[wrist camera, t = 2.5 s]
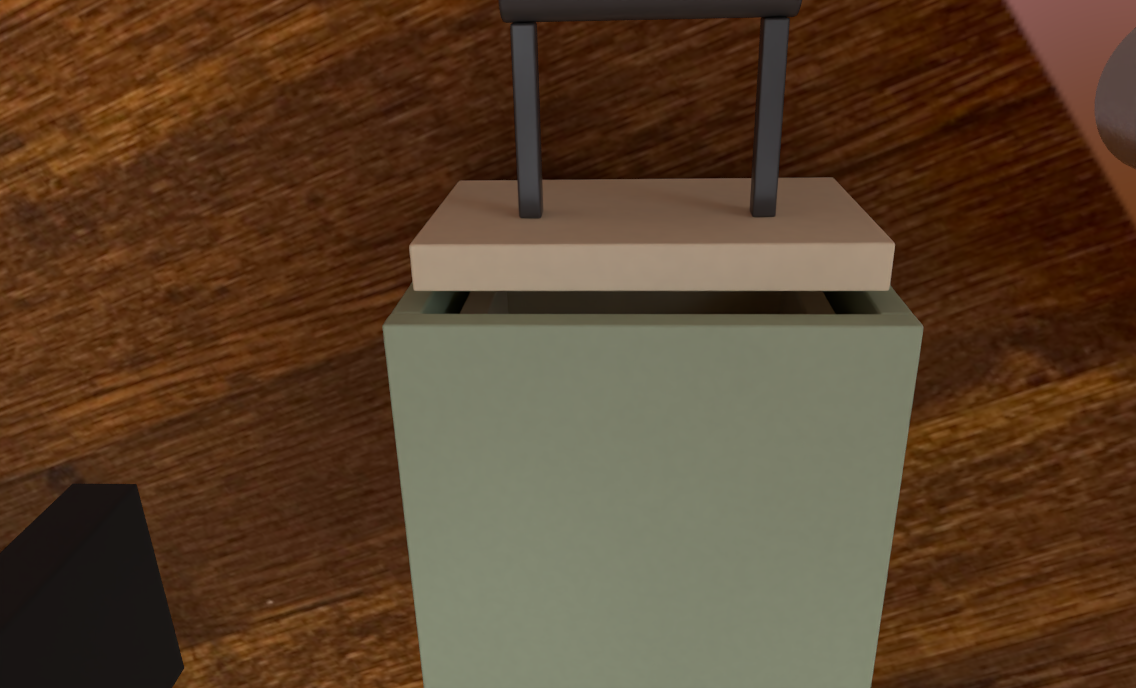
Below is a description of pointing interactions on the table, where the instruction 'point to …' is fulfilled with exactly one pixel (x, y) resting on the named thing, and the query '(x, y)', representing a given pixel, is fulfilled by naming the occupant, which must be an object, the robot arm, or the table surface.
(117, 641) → the robot arm
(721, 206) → the drawer
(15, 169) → the table surface
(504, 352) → the cabinet
